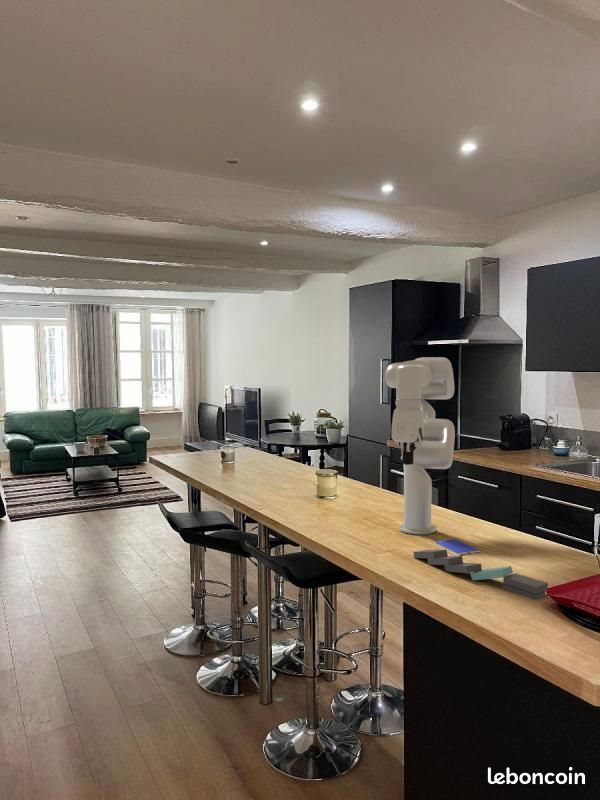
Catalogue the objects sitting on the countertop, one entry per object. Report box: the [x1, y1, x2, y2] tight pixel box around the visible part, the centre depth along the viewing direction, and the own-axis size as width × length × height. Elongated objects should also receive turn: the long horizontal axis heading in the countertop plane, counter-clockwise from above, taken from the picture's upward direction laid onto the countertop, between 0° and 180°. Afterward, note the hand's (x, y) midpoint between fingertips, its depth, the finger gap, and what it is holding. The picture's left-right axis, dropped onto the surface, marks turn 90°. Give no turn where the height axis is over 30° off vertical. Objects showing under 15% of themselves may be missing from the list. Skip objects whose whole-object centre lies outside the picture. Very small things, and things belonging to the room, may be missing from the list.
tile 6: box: [502, 584, 548, 601], centre depth 154 cm, size 2×5×10 cm
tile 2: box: [426, 555, 464, 566], centre depth 173 cm, size 2×5×10 cm
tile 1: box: [412, 549, 449, 559], centre depth 179 cm, size 2×5×10 cm
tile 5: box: [502, 572, 549, 594], centre depth 155 cm, size 2×5×10 cm
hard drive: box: [434, 538, 481, 555], centre depth 192 cm, size 2×8×12 cm
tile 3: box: [443, 562, 483, 574], centre depth 167 cm, size 2×5×10 cm
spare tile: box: [470, 565, 514, 581], centre depth 161 cm, size 2×5×10 cm
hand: (407, 463), depth 189 cm, fingers closed
